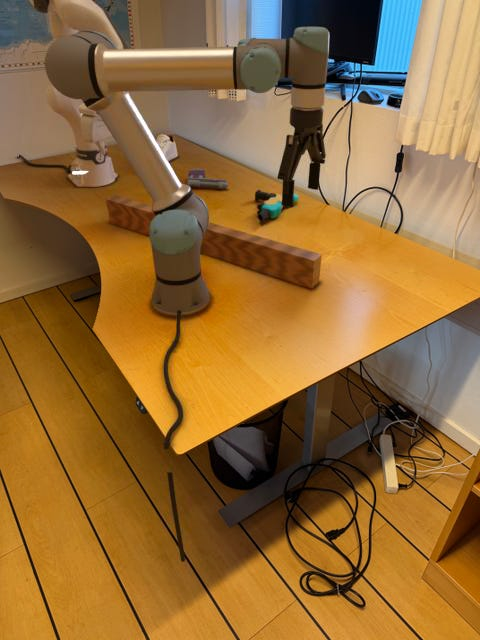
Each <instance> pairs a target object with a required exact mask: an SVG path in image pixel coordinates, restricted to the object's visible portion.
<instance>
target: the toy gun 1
mask: <svg viewBox="0 0 480 640" xmlns="http://www.w3.org/2000/svg"><path fill="white" fill-rule="evenodd" d="M187 175H188V177H187V178H186V182H185V185H188V186H189V187H190V188H198V189H212V190H213V189H216V190H227V188H228V186H229V184H228V180H227V179H220V178H219V179H218V178H216V179H215V178H206V172H205V169H201V168H196V169H195V168H194V169H190V170H189V171H188V174H187Z"/></svg>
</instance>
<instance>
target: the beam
mask: <svg viewBox="0 0 480 640" xmlns="http://www.w3.org/2000/svg"><path fill="white" fill-rule="evenodd" d="M105 203H106V208H107V209H106V210H107V213H108V219H109V223H110V224H113V225H116V226H119V227H122V228H124V229H127V230H130V231H134V232H137V233H140V234H142V235H145V236H149V233H150V223H151V221H152V220H153V219H154V218H155V217H156V216H155V214H154V213H153V211H152V209H151V208H152V204H148V203H145V202H140V201H137V200H133V199H130V198H126V197H124V196H119V195H116V194H114V195H112V196H110V197H107V198H105ZM200 254H204V255H207V256H210V257H213V258H216V259H219V260H222V261H225V262H228V263H231V264H234V265H238V266H241V267H243V268H246V269H250V270H253V271H255V272H259V273H262V274H264V275H268V276H271V277H274V278H276V279H280V280H282V281H286V282H289V283H292V284H295V285H299V286H301V287H304V288H307V289H311V290H312V289H314V288H315V287H316V286H317V285H318V284H319V283H320V276H321V266H322V253H318V252H314V251H311V250H307V249H305V248H302V247H298V246H295V245H290V244H287V243H283V242H280V241H277V240H273V239H269V238H266V237H262V236H259V235H255V234H252V233H248V232H245V231H243V230H238V229H234V228H232V227H227V226H224V225H220V224H217V223H214V222H210V221H209V223H208V227H207V230H206V232H205V235H204V238H203V241H202V244H201V247H200Z"/></svg>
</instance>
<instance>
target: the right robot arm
mask: <svg viewBox="0 0 480 640" xmlns="http://www.w3.org/2000/svg"><path fill="white" fill-rule="evenodd" d="M329 54H330V32H329V30H328V28H326V27H323V26H299V27H296V28H295V29H294V31H293V35H292V37H289V38H259V37H257V38H256V37H251V38H241V39H239V41H238V42H237V46H201V47H200V46H199V47H198V46H197V47H194V46H193V47H192V46H191V47H155V48H153V47H151V48H150V47H149V48H147V47H146V48H130V49H118V48H117V47H116V45H115V44H114V43H113V41H112V40H110V39H109V38H108V37H107V36H105V35H104V34H102V33H99V32H96V31H89V30H87V31H85V30H84V31H79V32H77V33H75V34H72V35H69V36H62V37H61V38H59V39H57V40H55V41H54V42H53V41H52V43H50V45H49V47H48V49H47V50H46V53H45V57H44V69H45V73H46V77H47V79H48V80H49V82H50V83H51V84H52V85H53V86H54V87H55V88H56V89H57V90H58V91H59V92H60V93H61V94H63V95H65V96H67V97H69V98H72V99H82V101H83V102H84V104H85V106H86V107H87V109H90V110H93V111H96V112H97V113H98V114H99V116H100V117H101V119H102V120H103V122H104V124H105V125H106V127H107V128H108V130H109V132H110V133H111V135H112V136H113V137H112V138H113V140H114V142H115V143H116V145H117V146H118V147H119V149H120V151H121V152H122V154H123V156H124V157H125V159H126V161H127V162H128V164H129V165H130V167H131V169H132V170H133V172H134V173H135V174H136V176H137V178H138V180H139V182H140V183H141V184H142V185H143V188H144V189H145V190H146V192H147V194H148V195H149V197H150V199H151V200H152V204H151V206H152V208H151V209H152V211H153V213H154V214H155V216H156V217H155V218H154V219H153V220H152V221H151V223H150V233H149V235H148V237H149V241H150V245H151V253H152V260H153V261H152V262H153V268H154V274H155V275H154V276H155V281H154V284H153V290H152V294H151V305H152V308H153V310H154V311H155V312H156V313H157V314H159V315H160V316H163V317H167V318H171V319H176V325H175V326H176V332H175V337H174V340H173V342H172V343H171V346H169V348H168V350H167V351H166V354H165V356H164V360H163V377H164V382H165V386H166V390H167V391H168V394H169V395H170V398H171V399H172V400H173V402H174V404H175V407H176V408H177V418H176V420H175V422H174V423H173V424H172V425H171V427H170V428H169V429H168V431H167V433H166V434H165V437H164V442H163V449H164V450H168V449H169V448H170V442H171V438H172V436H173V434H174V432H175V431H176V430H177V429H178V427H179V426H180V425H181V424H182V421H183V418H184V409H183V405H182V402H181V401H180V400H179V398H178V396H177V395H176V393H175V391H174V390H173V387H172V384H171V380H170V379H171V378H170V376H169V360H170V356H171V355H172V353H173V351H174V350H175V348H176V346H177V345H178V343H179V340H180V335H181V320H182V319H183V318H185V319H186V318H190V317H194V316H196V315H199V314H201V313H202V312H204V311H205V310H207V308H208V307H209V306H210V303H211V294H210V293H211V292H210V290H209V288H208V286H207V284H206V281H205V278H204V277H203V275H202V262H201V261H202V259H201V253H200V247H201V244H202V241H203V238H204V235H205V232H206V230H207V227H208V223H209V222H210V213H209V209H208V206H207V204H206V202H205V201H204V200H203V199H202V197H200V196H199V195H197V194H195V193H194V192H193V190H192V187H189V186H188V185H187V184H184V183H181V181H180V179H179V177H178V175H177V174H176V172H175V170H174V169H173V167H172V165H171V164H170V161H168V160H167V158H166V157H165V155H164V153H163V151H162V150H161V148H160V146H159V145H158V143H157V141H156V140H157V138H156V137H155V136H154V134H153V132H152V131H151V129H150V127H149V125H148V124H147V122H146V121H145V119H144V117H143V115H142V114H141V112H140V110H139V107H138V106H137V105H136V103H135V101H134V100H133V98H132V96H131V94H130V93H131V92H174V91H178V92H179V91H221V90H223V91H224V90H240V91H241V90H242V91H246V90H247V91H250V92H252V93H256V94H265V93H267V92H269V91H271V90H272V89H273V88H274V87H275V86H276V85H277V83H278V82H279V80H280V79H291V88H290V105H291V106H292V107H291V108H290V109H289V125H290V126H291V127H293V128H294V131H293V134H286V138H285V146H284V150H283V154H282V157H281V162H280V166H279V170H278V172H277V176H276V177H277V179H278V180H281V181H282V189H281V190H282V193H281V195H282V205H284V207H287V208H293V207H294V204H293V198H294V194H295V179H294V177H295V174H296V172H297V169H298V167H299V163H300V161H301V158H302V156H303V155H305V154H306V151H307V152H308V155H309V158H310V160H311V162H310V163H309V168H308V183H307V189H309V190H314V191H318V190H319V187H320V176H321V167H322V166H321V164H322V165H324V164H325V163H326V155H327V153H326V148H325V140H324V133H323V131H324V124H323V119H324V108H323V107H324V106H325V99H326V85H327V84H326V83H327V75H328V63H329ZM51 84H50V85H51ZM166 473H167V482H168V491H169V497H170V503H171V504H170V505H171V510H172V516H173V523H174V527H175V534H176V538H177V544H178V550H179V557H180V561H181V562H182V563H183V562H185V561H186V556H185V549H184V544H183V543H184V542H183V537H182V530H181V525H180V520H179V514H178V506H177V498H176V491H175V483H174V475H173V472H169V471H168V472H167V471H166Z"/></svg>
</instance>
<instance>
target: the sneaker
mask: <svg viewBox="0 0 480 640" xmlns="http://www.w3.org/2000/svg"><path fill="white" fill-rule="evenodd" d="M156 141H157V143H158V145H159V146H160V148H161V150H162V151H163V153H164V155H165V157H166V158H167V160H168V162H170V161H172V160H175V159H176V158H177V157H178V156H179V155H178V149H177V144H176V140H175V136H174V135H173V134H164V133H161V134H158V135H157V137H156Z"/></svg>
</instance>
